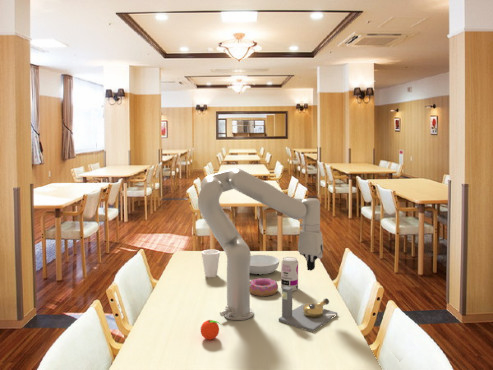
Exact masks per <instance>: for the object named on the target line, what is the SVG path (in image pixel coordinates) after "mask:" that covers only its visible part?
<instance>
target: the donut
mask: <svg viewBox="0 0 493 370" xmlns="http://www.w3.org/2000/svg"><path fill="white" fill-rule="evenodd" d="M278 290H279V285H278V283H277V281H276V280H274V279H272V278H267V277H266V278H264V277H263V278H262V277H259V278H253V279H252V280H250V294H252V295H254V296H258V297H270V296H273V295H275V294H277V291H278Z"/></svg>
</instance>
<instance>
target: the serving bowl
mask: <svg viewBox="0 0 493 370" xmlns="http://www.w3.org/2000/svg"><path fill="white" fill-rule="evenodd" d="M279 265H280V259H279V258H278V257H277V256H274V255H269V254H252V255H251V259H250V274H253V275H257V274H259V276H261V275H262V274H263V275H268V274H271V273H273V272H275V271H276V270H277V269H278V267H279Z"/></svg>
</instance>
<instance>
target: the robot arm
mask: <svg viewBox="0 0 493 370" xmlns="http://www.w3.org/2000/svg"><path fill="white" fill-rule="evenodd" d="M231 190H235V191H236V192H239V193H241V194H243V195H245V196H246V197H249V198H250V199H253V200H255V201H257V202H259V203H261V204H262V205H265V206H267V207H269V208H272V209H273V210H276V211H277V212H279V213H282V214H283V215H285V216H287V217H289V218H291V219H293V220H301V223H300V224H299V227H301V229H300V230H299V235H298V244H297V252H298V253H299V255H300V256H303V257H304V258H305V261H306V267H307V268H306V269H307V271H309V272H312V271H313V270H315V268H316V261H317V259H322V258H323V253H324V242H323V239H324V238H323V235H322V234H323V233H322V231H321V202H320V199H318V198H315V197H313V198H312V197H310V198H309V197H307V198H294V197H292V196H290V195H288V194H286V193H284V192H283V191H281V190H280V189H278V188H277V187H275V186H274V185H271V184H270V183H269V182H266V181H264V180H262V179H260V178H259V177H256V176H255V175H253V174H251V173H249V172H247V171H245V170H243V169H241V168H231V169H227V170H224V171H221V172H217V173H214V174H213V173H212V174H210V175H207V176H205V177H204V178H203V179H202V180H201V182H200V191H199V194H198V197H197V198H198V199H197V206H198V210H199V212H200V214H201V216H202V217H203V219H204V220H205V222H206V224H207V226H208V228H209V229H210V231H211V233H212V235H213V237H214V238H215V239H216V240H217V242H218V243H219V245H220V247H221V248H222V249H223V251H224V253H225V255H226V259H227V261H226V305H225V309H224V310H221V311H220V312H219V316H220V317H224V318H226V319H228V320H231V321H245V320H248V319H251V318H252V317H253V316H254V310H253V309H252V308H251V302H250V301H251V293H250V281H251V280H250V278H251V277H250V276H251V275H250V274H251V273H250V259H251V254H252V253H251V249H250V247H249V245H248V244H247V242H245V240H244V239H243V236H242V235H241V234H240V232H239V231H238V229H237V227H236V226H235V224H234V222H233V221H232V219H230V218H229V217H228V215H227V214H226V212H225V210H224V209H223V207H222V206H221V203H220V199H221V196H222V194H223V193H225V192H228V191H231Z"/></svg>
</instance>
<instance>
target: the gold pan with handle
mask: <svg viewBox="0 0 493 370" xmlns="http://www.w3.org/2000/svg"><path fill="white" fill-rule="evenodd" d="M329 303H330V300H329V298H323V300H322V301H321V302H319V303H315V302H308V303H304V304H305V305H304V306H303V314H304V315H305V316H307V317H310V318H318V317H321V316H322V315H323V309H324V306H325V305H328V304H329Z"/></svg>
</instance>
